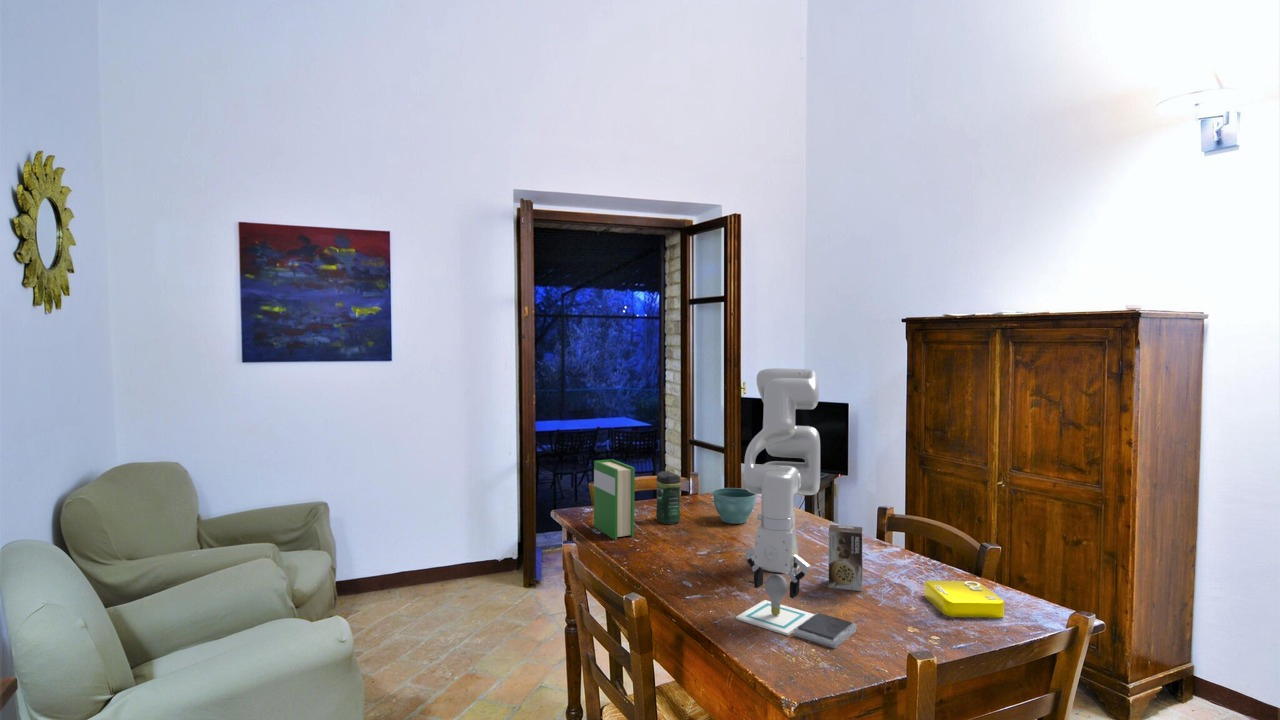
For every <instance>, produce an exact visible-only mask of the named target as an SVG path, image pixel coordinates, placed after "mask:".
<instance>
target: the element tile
mask: <svg viewBox="0 0 1280 720" xmlns="http://www.w3.org/2000/svg"><path fill="white" fill-rule="evenodd" d="M924 598H925V599H926V600H927V601H929V603H930V604H932V605H933V606H934V608H936V609H937V610H938V611H939V612H940V611H941V612H942V613H943V614H942V613H941V612H940V613H941V614H942V615H944V616H945V615H947V616H946V617H948V616H952V617H951V618H955V617H989V618H988V619H1002V618H1001V617H1003V618H1005V601H1004V599H1002V598H1001V597H1000V596H998V595H997V594H996V593H994V592H993V591H992V590H990V589H989V588H987V586H985V585H983V584H982V583H980V582H979V581H973V580H969V581H968V580H926V581H925V582H924Z"/></svg>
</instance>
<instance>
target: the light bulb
mask: <svg viewBox="0 0 1280 720" xmlns="http://www.w3.org/2000/svg"><path fill="white" fill-rule="evenodd" d="M764 588H765V592H766V594H767V596H768V597H769V599H770V601H771V613H772V614H774V615H778V614H780V604H781V603H782V602H781V601H782V600H783V598H784V597H785V596H786V594H787V592H788V583H787V580H786V579H785V577H784V576H782V575H780V574H777V573H775V574H774V573H773V574H771V575H769V576H767V578H766V580H765V582H764Z"/></svg>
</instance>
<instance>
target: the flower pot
mask: <svg viewBox="0 0 1280 720" xmlns="http://www.w3.org/2000/svg"><path fill="white" fill-rule="evenodd" d="M712 495H713V503H714V508H715V510H716V513H717V514H718V515H719V517H720V521H721V522H722V523H723V522H724V523H727V524H733V525H734V524H745V523H746V522H747V521H748V518H749V517H750V515H751V514H752V512H753V510H754V508H755V503H756V498H757V494H754V493H750V492H748V491H747V490H746V488H741V487H740V488H739V487H737V488H736V487H722V488H717V489H714V490H713V491H712Z"/></svg>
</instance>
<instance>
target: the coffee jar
mask: <svg viewBox="0 0 1280 720" xmlns="http://www.w3.org/2000/svg"><path fill="white" fill-rule="evenodd" d="M681 484H682V483H681V476H680V475H679V474H676V473H673V472H671V471H669V470H666V471H659V472H658V473H657V475H656V510H655V511H656V513H655V514H656V516H655V518H656V520H657V522H659V523H661V524H663V525H667V524H668V525H669V524H670V525H675V524H679V523H680V522H681Z"/></svg>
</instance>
